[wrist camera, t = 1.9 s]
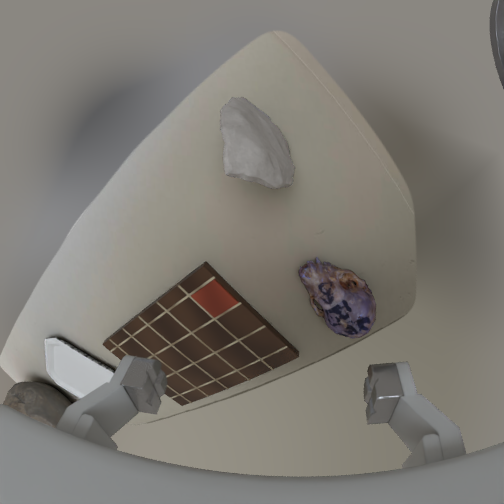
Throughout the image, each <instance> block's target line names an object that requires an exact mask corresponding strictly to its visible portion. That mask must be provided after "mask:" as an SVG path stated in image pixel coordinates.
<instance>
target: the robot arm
mask: <svg viewBox="0 0 504 504" xmlns="http://www.w3.org/2000/svg"><path fill="white" fill-rule="evenodd" d="M161 367H162V365H161V363H160V360H156V359H149V358H143V357H137V356H130V355H126V356H124V357H123V358H122V360H121V362H120V364H119V366H118V367H117V369H116V371H115V373H114V375H113V376H112V378H111V380H110V382H109V383H108V382H106V383H104V384H103V385H101V386H100V387H98V388H97V389H95V390H93V391H92V392H90V393H89V394H87V395H86V396H84V397H82V398H81V399H79V400H78V401H76V402H74V403H73V404H71V405H70V406H68V407H67V408H66V410H65V412H64V414H63V415H62V417H61V419H60V421H59V422H58V424H57V426H56V428H53V427H51V426H49V425H46V424H44V423H42V422H39V421H37V420H35V419H33V418H31V417H29V416H27V415H25V414H22V413H20V412H18V411H16V410H15V409H13V408H11V407H9V406H7V405H4V404H0V504H504V442H503V443H500V444H497V445H494V446H491V447H488V448H485V449H482V450H479V451H476V452H472V453H469V454H466V451H465V447H464V443H463V439H462V436H461V432H460V428H459V427H458V426H457V425H456V424H455V423H454V422H452V421H451V420H450V419H449V418H448V417H447V416H446V415H445V414H443V413H442V412H441V411H440V410H439V409H437V407H435V406H434V405H433V404H432V403H431V402H430V401H429V400H427V399H426V398H425V397H424V396H423V395H422V394H417V390H416V387H415V383H414V380H413V376H412V373H411V369H410V366H409V364H408V362H398V363H385V364H374V365H369V367H368V371H367V372H368V377H367V378H365V383H364V399H365V400H364V401H365V402H366V403H367V404H368V405H367V408H366V416H367V424H380V423H388V424H389V425H390V426H391V428H392V429H393V430H394V431H395V433H396V434H397V435H398V436H399V437H400V439H401V440H402V441H403V442H404V444H405V445H406V446H407V447H408V448H409V450H410V451H411V452H412V453H411V455H410V456H409V457H408V458H407V460H406V461H405V462H404V463H403V465H402V467H403V469H397V470H390V471H382V472H376V473H365V474H354V475H341V476H320V477H319V476H318V477H283V476H261V475H260V476H259V475H247V474H237V473H227V472H219V471H212V470H205V469H198V468H192V467H186V466H181V465H176V464H171V463H166V462H161V461H157V460H152V459H148V458H144V457H140V456H136V455H132V454H128V453H125V452H122V451H118V450H117V448H118V447H117V445H116V443H115V442H114V441H113V440H112V439H111V438H110V437H111V436H112V435H114V434H115V433H116V432H117V431H118V430H119V429H121V428H122V427H123V426H124V425H125V424H126V423H127V422H129V421H130V420H131V419H132V418H133V417H134V416H135V415H136V414H138V413H139V412H145V413H151V414H157V412H158V409H159V407H160V404H161V400H160V397H161V396H162V395H164V394H165V391H166V388H167V376H166V374H165V372H164V371H162V370H161ZM138 411H139V412H138Z"/></svg>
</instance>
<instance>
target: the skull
mask: <svg viewBox="0 0 504 504" xmlns="http://www.w3.org/2000/svg"><path fill="white" fill-rule="evenodd" d="M307 262H308V264H305V265H304V266H302V268H301V266H300V269H299V276H300V278H301V281H302V283H303V284H304V285H305V287H306V289H307V290H308V293H309V294H310V303H311V305H312V307H313V309H314V310H315V311H316V313H317V315H318V316H320V317H323V318H324V320H325V322H326V324H327V326H328V327H329V328H330V329H331V330H333V331H334V332H335V333H336V334H339V335H343V336H345V337H350V338H359V337H362V336H364V335H365V334H367V333H368V332H369V331H370V329H371V327H372V325H373V324H374V322H375V311H376V303H375V299H374V297H373V295H372V292H371V290H370V289H369V288H368V285H367V284H366V282H365V280H362V279H360V278H359V277H358V276H357V275H356V274H355V273H354V272H352V271H350V270H343V269H340V268H337V267H336V266H335V265H334V266H333V265H331V264H330V263H326V262H324V265H323V264H322V263H321V262H320V261H319V259H318V258H317V257H316V264H315V263H314V262H312V261H307ZM352 282H356V286H355V285H354V284H353V283H352ZM348 285H349V286H350V287H348ZM314 299H315V300H316V301H317V303H319V304H320V305H321V306H322V308H323V309H322V310H321V309H319V308H318V307H317V306H316V304H315V303H314Z"/></svg>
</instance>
